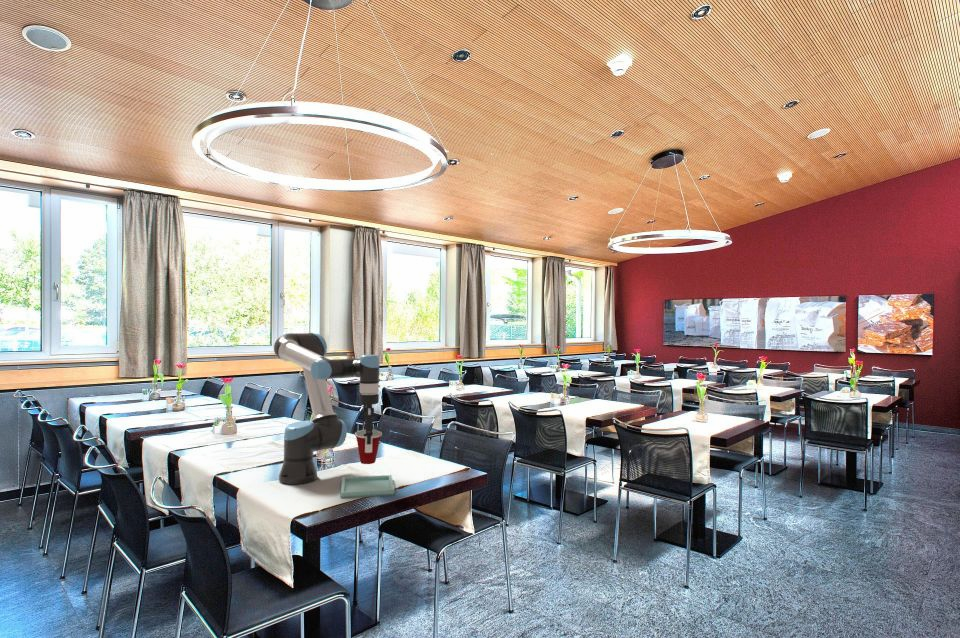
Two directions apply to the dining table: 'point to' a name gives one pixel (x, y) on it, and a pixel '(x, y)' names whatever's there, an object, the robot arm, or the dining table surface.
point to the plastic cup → (364, 457)
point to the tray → (367, 486)
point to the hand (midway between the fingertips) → (368, 448)
